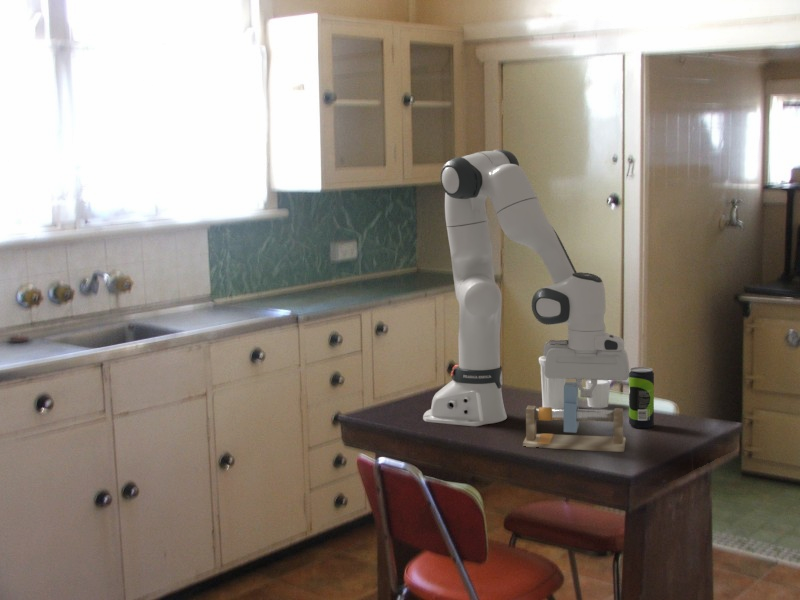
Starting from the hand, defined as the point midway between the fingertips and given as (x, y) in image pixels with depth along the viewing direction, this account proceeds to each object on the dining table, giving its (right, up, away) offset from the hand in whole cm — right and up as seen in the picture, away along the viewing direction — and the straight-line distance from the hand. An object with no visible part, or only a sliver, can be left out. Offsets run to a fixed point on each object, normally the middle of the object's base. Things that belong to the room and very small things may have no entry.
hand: (586, 397), depth 258 cm
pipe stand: (-3, -12, +2) cm, 12 cm away
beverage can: (+17, -9, +18) cm, 27 cm away
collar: (-3, -8, +2) cm, 9 cm away
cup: (-2, -7, +41) cm, 41 cm away
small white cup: (+10, -7, +42) cm, 43 cm away
